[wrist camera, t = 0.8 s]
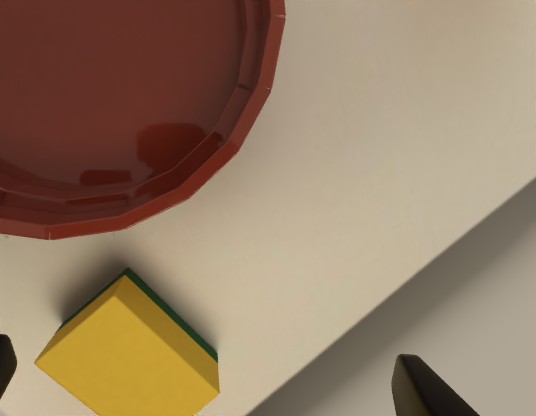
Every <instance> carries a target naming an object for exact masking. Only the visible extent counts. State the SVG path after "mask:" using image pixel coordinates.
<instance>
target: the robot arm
mask: <svg viewBox="0 0 536 416" xmlns="http://www.w3.org/2000/svg"><path fill="white" fill-rule="evenodd" d="M16 367H17V358H16V355H15V352H14V349H13V346H12V343H11V340H10V338H9V337H8V336H7V335H5V334H0V399H1V397H2V395H3V393H4V392H5V390H6V388H7V386H8V384H9V382H10V380H11V378H12V377H13V375H14V373H15V370H16ZM392 393H393V399H394V404H395V410H396V415H397V416H480V415H479V414H477V413H476V412H475V411H474V410H473V409H472V408H471V407H470V406H469V405H468V404H467V403H466V402H465V401H464V400H463V399H462V398H461V397H460V396H459V395H458V394H457V393H456V392H455V391H454V390H453V389H452V388H451V387H450V386H448V385H447V384H446V383H445V382H444V381H443V380H442V379H441V378H440V377H439V376H438V375H437V374H436V373H435V372H434V371H433V370H432V369H431V368H430V367H429V366H428V365H427V364H426V363H425V362H424V361H423V360H421V358H420V357H418V356H417V355H410V354H400V355H398V357H397V358H396V363H395V367H394V372H393V377H392Z"/></svg>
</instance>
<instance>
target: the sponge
mask: <svg viewBox="0 0 536 416" xmlns="http://www.w3.org/2000/svg"><path fill="white" fill-rule="evenodd" d="M34 364H35V365H36V366H37V367H39V368H40V369H41V370H42V371H44V372H45V373H46V374H47V375H49V376H50V377H51V378H52V379H54V380H55V381H56V382H57V383H59V384H60V385H61V386H62V387H64V388H65V389H66V390H67V391H69V392H70V393H71V394H72V395H74V396H75V397H76V398H77V399H79V400H80V401H81V402H82V403H84V404H85V405H86V406H87V407H89V408H90V409H91V410H92V411H94V412H95V413H96V414H97V415H99V416H193V415H195V414H196V413H197V412H198V411H199V410H201V409H202V408H203V407H204V406H205V405H206V404H208V403H209V402H210V401H211V400H212V399H214V398H215V397H216V396H217V395H218V394H219V393H220V392H219V376H218V355H217V353H216V352H215V351H214V350H213V349H212V348H211V347H210V346H209V345H208V344H207V343H206V342H205V341H204V340H203V339H202V338H201V337H200V336H199V335H198V334H197V333H196V332H195V331H194V330H193V329H192V328H191V327H190V326H188V325H187V324H186V323H185V322H184V321H183V320H182V319H181V318H180V317H179V316H178V315H177V314H176V313H175V312H174V311H173V310H172V309H171V308H170V307H169V306H168V305H167V304H166V303H165V302H164V301H163V300H162V299H160V298H159V297H158V296H157V295H156V294H155V293H154V292H153V291H152V290H151V289H150V288H149V287H148V286H147V285H146V284H145V283H144V282H143V281H142V280H141V279H140V278H139V277H138V276H137V275H136V274H135V273H133V272H132V271H131V270H130V269H129V268H128V269H126V270H125V271H124V272H123V273H122V274H121V275H119V276H118V277H117V278H116V279H115V280H114V281H112V282H111V283H110V284H109V285H108V286H106V287H105V288H104V289H103V290H102V291H101V292H99V293H98V294H97V295H96V296H95V297H93V298H92V299H91V300H90V301H89V302H88V303H86V304H85V305H84V306H83V307H82V308H81V309H79V310H78V311H77V312H76V313H75V314H73V315H72V316H71V317H70V318H69V319H68V320H66V321H65V322H64V323H63V324H62V325H61V326H60V327H59V329H58V330H57V332H56V333H55V335H54V336H53V337H52V339H51V340H50V341H49V343H48V344H47V346H46V347H45V348H44V350H43V351H42V352H41V354H40V355H39V356H38V358H37V359H36V361H35V362H34Z"/></svg>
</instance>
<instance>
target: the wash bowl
mask: <svg viewBox="0 0 536 416" xmlns="http://www.w3.org/2000/svg"><path fill="white" fill-rule="evenodd" d="M285 16H286V13H285V2H284V0H0V234H8V235H15V236H22V237H30V238H37V239H44V240H57V239H64V238H71V237H78V236H85V235H92V234H98V233H105V232H112V231H119V230H123V229H127V228H129V227H131V226H134V225H136V224H138V223H140V222H142V221H144V220H146V219H148V218H150V217H153V216H155V215H157V214H159V213H161V212H163V211H165V210H167V209H169V208H171V207H174V206H176V205H178V204H180V203H182V202H184V201H186V200H187V199H189V198H190V197H191V196H192V195H193V194H195V193H196V192H197V191H198V190H199V189H200V188H201V187H202V186H203V185H204V184H205V183H206V182H207V181H208V180H209V179H210V178H211V177H213V176H214V175H215V174H216V173H217V172H218V171H219V170H220V169H221V168H222V167H223V166H224V165H225V164H226V163H227V162H228V161H229V160H231V159H232V158H233V157H234V156H235V155H236V154H237V152H238V151H239V150H240V148H241V146H242V144H243V142H244V140H245V139H246V137H247V135H248V133H249V131H250V129H251V128H252V126H253V124H254V122H255V120H256V118H257V117H258V115H259V113H260V111H261V109H262V107H263V105H264V104H265V102H266V100H267V98H268V96H269V94H270V93H271V89H272V85H273V80H274V75H275V70H276V65H277V60H278V55H279V50H280V45H281V40H282V35H283V30H284V24H285Z"/></svg>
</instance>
